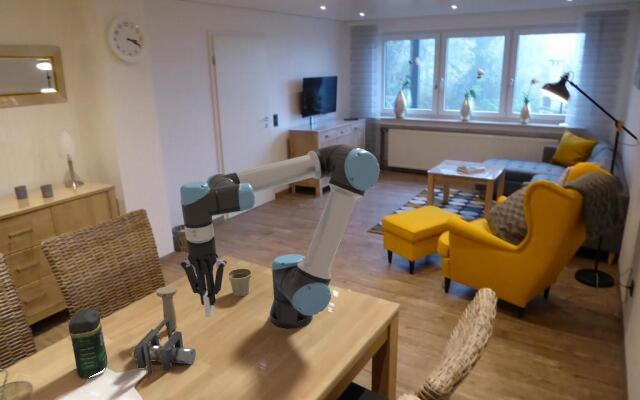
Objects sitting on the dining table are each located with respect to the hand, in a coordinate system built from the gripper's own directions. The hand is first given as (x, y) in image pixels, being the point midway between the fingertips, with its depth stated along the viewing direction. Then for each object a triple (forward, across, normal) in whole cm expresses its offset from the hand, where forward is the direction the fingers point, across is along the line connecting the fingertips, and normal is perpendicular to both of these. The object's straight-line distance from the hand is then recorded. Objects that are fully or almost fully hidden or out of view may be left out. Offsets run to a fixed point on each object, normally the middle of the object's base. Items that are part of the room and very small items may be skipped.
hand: (210, 314), depth 129 cm
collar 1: (+17, -22, 0) cm, 27 cm away
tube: (+17, -16, 0) cm, 23 cm away
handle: (+17, -23, +16) cm, 32 cm away
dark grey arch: (+17, -14, 0) cm, 22 cm away
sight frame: (+17, -18, 0) cm, 24 cm away
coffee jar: (+17, -36, -7) cm, 40 cm away
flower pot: (+18, -8, +44) cm, 48 cm away
